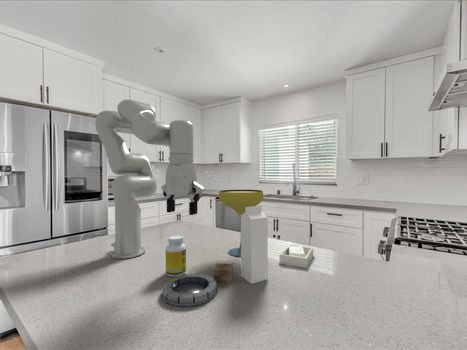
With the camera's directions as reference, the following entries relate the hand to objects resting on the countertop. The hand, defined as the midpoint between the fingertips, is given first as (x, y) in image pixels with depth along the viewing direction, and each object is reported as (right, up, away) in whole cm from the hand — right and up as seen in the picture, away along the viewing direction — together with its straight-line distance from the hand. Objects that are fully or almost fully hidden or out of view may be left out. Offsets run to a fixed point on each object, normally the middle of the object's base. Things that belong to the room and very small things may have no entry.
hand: (181, 213), depth 78 cm
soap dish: (+40, -19, +12) cm, 46 cm away
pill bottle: (-2, -20, 0) cm, 20 cm away
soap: (+40, -19, +12) cm, 46 cm away
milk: (+23, -20, -4) cm, 30 cm away
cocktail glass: (+20, -19, +20) cm, 35 cm away
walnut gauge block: (+14, -20, -4) cm, 24 cm away
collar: (+5, -20, -12) cm, 24 cm away
